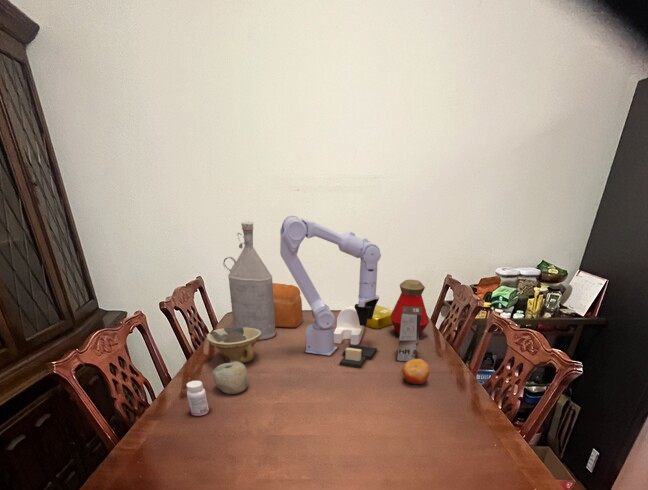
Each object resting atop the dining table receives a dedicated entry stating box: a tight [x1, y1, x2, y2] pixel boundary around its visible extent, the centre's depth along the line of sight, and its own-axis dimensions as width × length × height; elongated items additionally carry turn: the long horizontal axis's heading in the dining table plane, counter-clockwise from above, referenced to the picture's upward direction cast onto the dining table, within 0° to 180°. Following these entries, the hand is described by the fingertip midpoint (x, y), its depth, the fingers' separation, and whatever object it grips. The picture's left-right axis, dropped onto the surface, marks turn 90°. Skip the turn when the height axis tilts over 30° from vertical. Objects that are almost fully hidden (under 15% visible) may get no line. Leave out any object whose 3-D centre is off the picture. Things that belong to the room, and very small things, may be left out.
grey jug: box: [222, 220, 277, 341], centre depth 151 cm, size 13×17×40 cm
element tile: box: [365, 304, 393, 330], centre depth 174 cm, size 15×15×5 cm
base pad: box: [342, 344, 378, 360], centre depth 146 cm, size 10×8×1 cm
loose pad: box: [339, 347, 367, 369], centre depth 139 cm, size 7×9×5 cm
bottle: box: [390, 279, 430, 337], centre depth 157 cm, size 16×14×20 cm
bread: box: [273, 282, 303, 328], centre depth 170 cm, size 14×26×16 cm, turn 79°
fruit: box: [401, 358, 430, 385], centre depth 126 cm, size 8×8×8 cm
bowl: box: [206, 326, 261, 364], centre depth 139 cm, size 18×18×10 cm
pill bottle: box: [185, 380, 210, 417], centre depth 109 cm, size 5×5×8 cm
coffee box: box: [396, 306, 422, 362], centre depth 139 cm, size 9×6×16 cm
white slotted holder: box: [334, 305, 365, 346], centre depth 158 cm, size 10×18×11 cm, turn 169°
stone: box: [211, 362, 249, 395], centre depth 121 cm, size 10×10×10 cm
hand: (365, 322), depth 146 cm, fingers open, 7 cm apart
